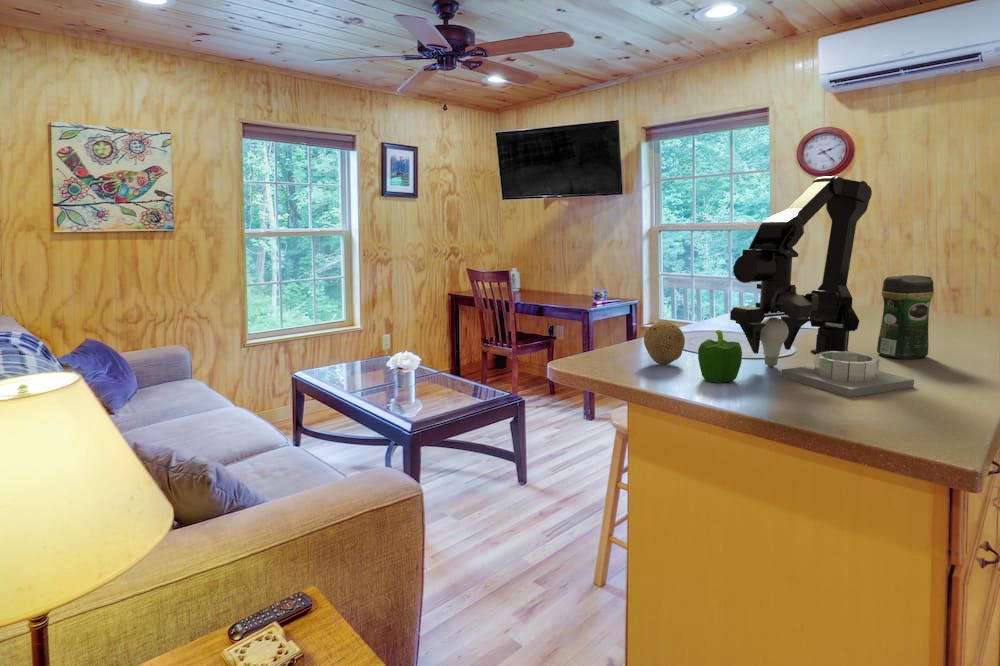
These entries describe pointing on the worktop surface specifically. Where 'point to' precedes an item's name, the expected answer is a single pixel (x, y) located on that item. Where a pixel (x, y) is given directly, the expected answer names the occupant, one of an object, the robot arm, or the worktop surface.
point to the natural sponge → (664, 342)
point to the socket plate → (848, 382)
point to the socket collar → (846, 366)
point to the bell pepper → (719, 359)
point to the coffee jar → (905, 316)
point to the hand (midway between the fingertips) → (771, 351)
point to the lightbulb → (773, 339)
